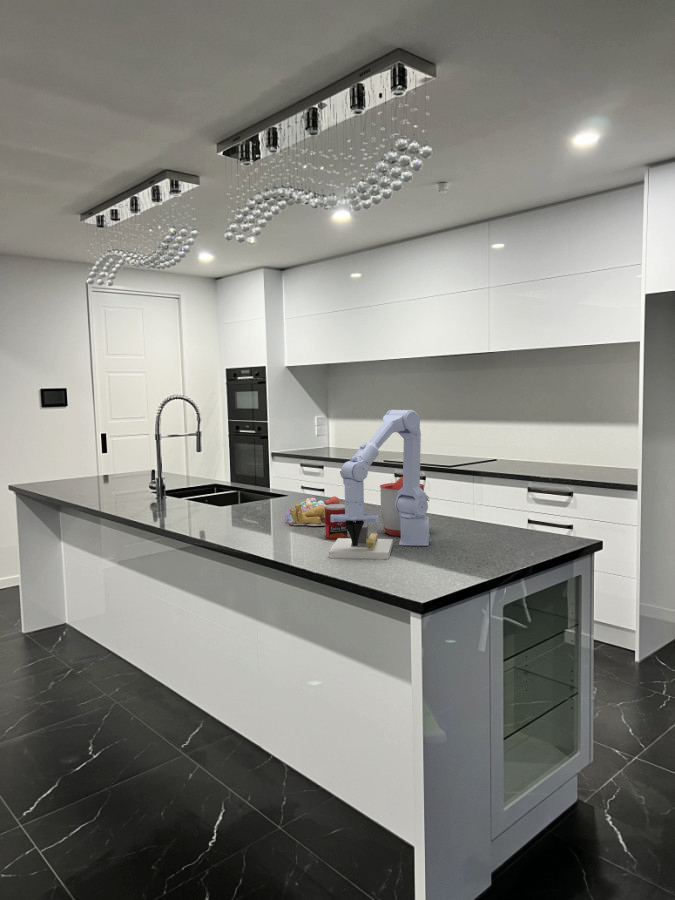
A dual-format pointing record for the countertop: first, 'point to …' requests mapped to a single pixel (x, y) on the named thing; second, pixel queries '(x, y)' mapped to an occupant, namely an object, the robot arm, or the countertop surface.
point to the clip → (371, 539)
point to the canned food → (335, 528)
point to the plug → (362, 537)
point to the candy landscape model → (309, 512)
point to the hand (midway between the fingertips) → (355, 545)
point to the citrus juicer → (392, 507)
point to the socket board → (361, 549)
